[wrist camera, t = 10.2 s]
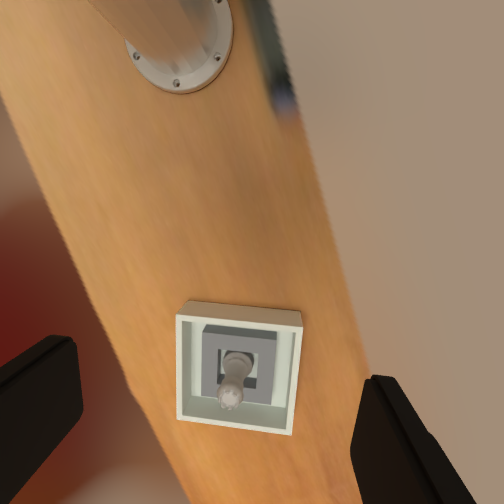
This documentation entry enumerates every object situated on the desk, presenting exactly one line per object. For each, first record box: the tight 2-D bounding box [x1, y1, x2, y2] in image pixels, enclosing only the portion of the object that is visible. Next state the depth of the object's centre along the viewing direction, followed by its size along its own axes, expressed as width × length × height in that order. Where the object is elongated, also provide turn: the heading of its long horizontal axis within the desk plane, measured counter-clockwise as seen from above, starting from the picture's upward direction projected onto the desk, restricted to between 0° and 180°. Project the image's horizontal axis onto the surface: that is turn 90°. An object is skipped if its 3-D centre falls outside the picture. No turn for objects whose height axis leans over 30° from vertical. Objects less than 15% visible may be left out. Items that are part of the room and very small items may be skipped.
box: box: [176, 300, 303, 435], centre depth 36 cm, size 16×16×4 cm
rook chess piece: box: [217, 350, 254, 410], centre depth 34 cm, size 4×4×8 cm
